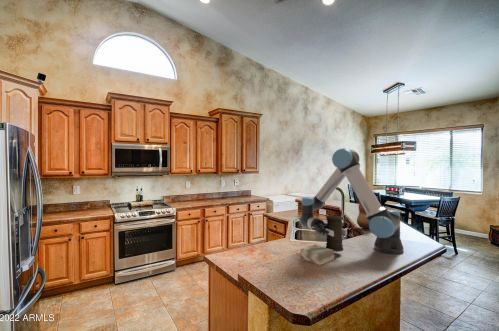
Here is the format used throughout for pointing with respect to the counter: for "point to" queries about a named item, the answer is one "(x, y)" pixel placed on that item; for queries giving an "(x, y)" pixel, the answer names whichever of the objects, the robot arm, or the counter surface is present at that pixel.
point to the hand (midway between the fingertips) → (339, 233)
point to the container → (336, 226)
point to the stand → (317, 254)
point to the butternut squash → (362, 218)
